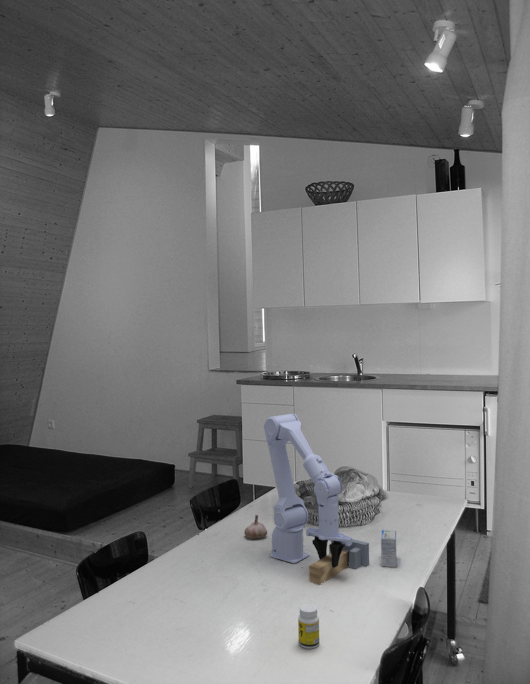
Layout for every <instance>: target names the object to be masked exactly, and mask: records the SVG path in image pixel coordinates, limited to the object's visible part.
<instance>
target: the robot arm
mask: <svg viewBox="0 0 530 684" xmlns="http://www.w3.org/2000/svg"><path fill="white" fill-rule="evenodd" d="M263 429H264V434H265V439H266V443H267V447H268V451H269V457H270V462H271V466H272V470H273V471H272V472H273V477H274V480H275V485H276V490H277V494H278V495H277V496H278V499H277V502H275V504H274V506H273V508H272V509H273V512H274V515H273V521H274V522H273V523H274V525H275V527H274V529H273V530H272V533H271V554H270V558H274V559H278V560H280V561H285V562H287V563H291V564H297V563H298V562H300V561H303V560H304V559H305V558H308V557H309V556H310V554H309V553H306V552H304V529H305V528H306V524H307V523H308V522H309V512H308V510H307V507H306V506H305V501H304V499H302V498H300V496H298V495H297V493H296V489H295V485H294V479H293V474H292V470H291V465H290V460H289V456H288V452H287V446H286V445H287V443H288V442H290V443H291V445H292V446H293V447H294V449H295V450H296V452H297V453H298V454H299V455H300V457H301V458H302V459H303V464H302V465H303V467H304V470H305V472H306V473H307V475H308V476H309V478H310V479H311V481H312V483H313V485H314V486H313V492H314V495H315V496H316V503H317V505H318V528H313V527H308V528H306V529H305V535H306V536H305V537H314V538H313V540H312V545H313V546H314V549H315V550H316V553H317V555H318V559H319V560H320V559H322V558H324V557H325V556H327V555H328V554H327V550H328V547H330V551H331V556H332V567H333V568H335V567H337V566H338V562H339V558H340V555H341V552H342V550H343V548H344V546H345V544H346V546H350V545H352V539H353V537H350V536H349V535H346V534H344V533H341V532H339V531H340V530H339V495H340V494H341V493H342V491H343V484H342V480H341V478H340V477H339V476H338V475H336V474H334V473H333V472H331V471H330V470H329V468H328V466H327V465H326V463H325V462H324V460H323V458H322V457H321V455H319V454H315V453H314V451H313V450H312V448H311V446H310V444H309V443H308V441H307V439H306V437H305V435H304V433H303V432H302V422H301V421H300V419H299V416H298V415H297V414H295V413H294V412H293V413H288V414H282V415H275V416H270V415H269V416H267V419H266V420H265V422H264V424H263ZM329 541H330V542H331V541H333V543H332V544H331V543H330V544H329V545H328V542H329Z"/></svg>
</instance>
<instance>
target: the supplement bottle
mask: <svg viewBox="0 0 530 684" xmlns="http://www.w3.org/2000/svg"><path fill="white" fill-rule="evenodd" d="M297 622H298V644H299V646H300V647H301V648H304V649H316V648H317V647H319V645H320V616H319V615H318V607H317V605H315V604H312V603H305V604H301V605H300V607H299V615H298V620H297Z"/></svg>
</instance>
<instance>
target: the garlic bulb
mask: <svg viewBox="0 0 530 684" xmlns="http://www.w3.org/2000/svg"><path fill="white" fill-rule="evenodd" d="M254 517H255V518H254V522H252V523H251V524H250V525H249V526H246V527H245V529H244V532H243V533H244V536H245V537H246V538H247V539H250V540H255V539H260V538H262V539H263V538H265V537H266V536H267V535H268V531H267V528H266V527H265V525H264V524H263V523H262V522H259V521H258V520H259V515H258V514H257V513H256V514H255V516H254Z"/></svg>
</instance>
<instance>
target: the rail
mask: <svg viewBox="0 0 530 684" xmlns="http://www.w3.org/2000/svg"><path fill="white" fill-rule="evenodd" d="M348 567H349V551H347V550H342V552H341V555H340V558H339V562H338V566H337V567H335V568H333V567H332V556H331V553H330V554H329V553H328V554H327V556H325V557H324V558H322V559H319V560H317V561H315V562H313V563H311V564H310V565H309V566H308V578H309V579H308V581H310V583H312V582H313V583H312V584H316V585H319V586H320V585H321V583H322V584H323V583H325V582H326V581H328V580H330V579H331V578H332V577H334V576H335V575H337V574H339V573H341V572H342V571H343V570H345V569H347V568H348ZM340 571H341V572H340ZM324 581H325V582H324Z"/></svg>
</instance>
